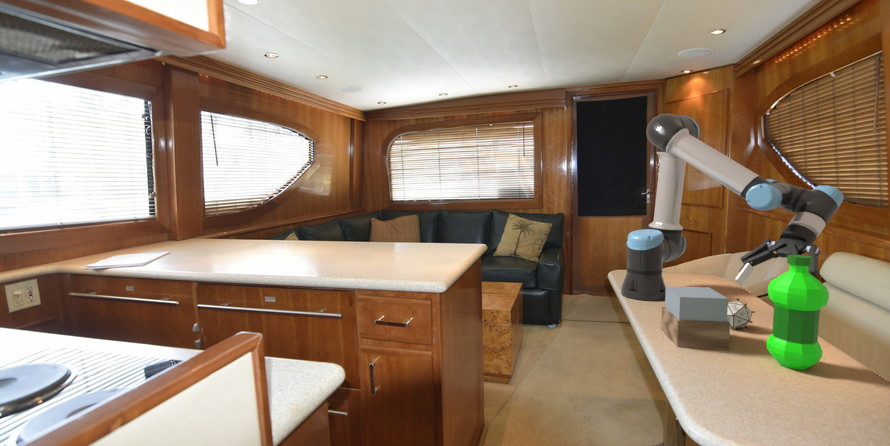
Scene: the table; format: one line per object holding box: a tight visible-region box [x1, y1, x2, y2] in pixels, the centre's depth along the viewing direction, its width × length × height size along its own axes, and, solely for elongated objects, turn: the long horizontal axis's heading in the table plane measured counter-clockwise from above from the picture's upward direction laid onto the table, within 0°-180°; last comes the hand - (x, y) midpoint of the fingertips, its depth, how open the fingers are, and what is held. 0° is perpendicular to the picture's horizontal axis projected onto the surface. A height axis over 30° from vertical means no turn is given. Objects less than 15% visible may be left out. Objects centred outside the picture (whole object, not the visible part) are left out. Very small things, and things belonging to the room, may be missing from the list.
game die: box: [727, 298, 756, 331], centre depth 122 cm, size 9×8×10 cm
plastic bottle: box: [766, 254, 830, 370], centre depth 97 cm, size 10×10×25 cm
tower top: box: [664, 285, 729, 322], centre depth 113 cm, size 11×11×6 cm
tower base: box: [660, 306, 731, 350], centre depth 114 cm, size 12×12×7 cm
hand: (760, 287), depth 122 cm, fingers open, 13 cm apart
